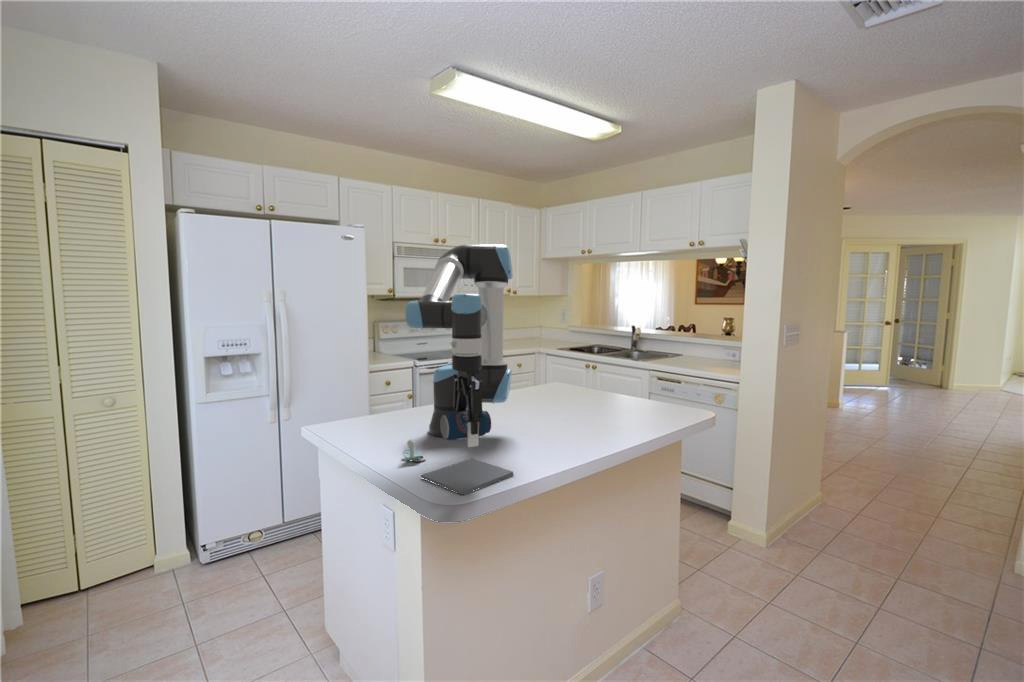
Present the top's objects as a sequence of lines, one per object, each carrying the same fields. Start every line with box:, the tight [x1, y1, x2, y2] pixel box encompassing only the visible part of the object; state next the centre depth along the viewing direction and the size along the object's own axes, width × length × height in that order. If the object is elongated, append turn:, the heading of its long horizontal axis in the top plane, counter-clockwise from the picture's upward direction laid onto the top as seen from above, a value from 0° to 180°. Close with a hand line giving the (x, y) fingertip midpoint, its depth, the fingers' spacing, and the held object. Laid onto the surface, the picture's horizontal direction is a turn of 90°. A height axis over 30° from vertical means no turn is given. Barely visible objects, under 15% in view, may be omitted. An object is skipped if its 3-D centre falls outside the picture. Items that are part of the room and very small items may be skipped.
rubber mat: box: [420, 457, 514, 496], centre depth 129 cm, size 16×18×1 cm
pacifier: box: [402, 439, 427, 462], centre depth 142 cm, size 7×6×6 cm
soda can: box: [440, 409, 492, 441], centre depth 127 cm, size 7×7×12 cm
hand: (467, 442), depth 128 cm, fingers closed on soda can, 7 cm apart
